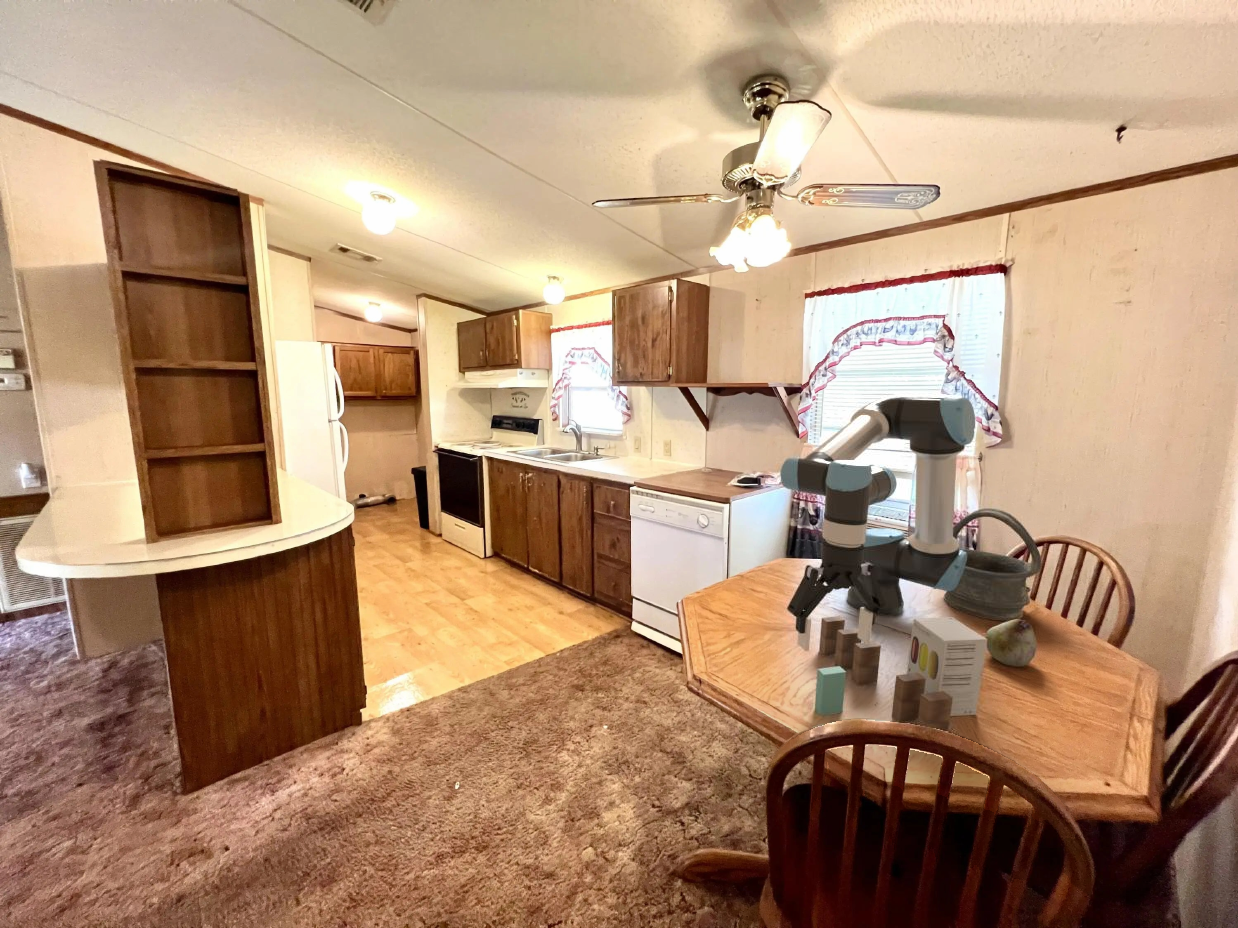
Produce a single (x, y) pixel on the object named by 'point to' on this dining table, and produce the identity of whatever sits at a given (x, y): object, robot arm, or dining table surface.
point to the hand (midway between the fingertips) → (833, 643)
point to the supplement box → (948, 660)
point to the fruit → (1012, 642)
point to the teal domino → (830, 690)
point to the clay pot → (994, 575)
